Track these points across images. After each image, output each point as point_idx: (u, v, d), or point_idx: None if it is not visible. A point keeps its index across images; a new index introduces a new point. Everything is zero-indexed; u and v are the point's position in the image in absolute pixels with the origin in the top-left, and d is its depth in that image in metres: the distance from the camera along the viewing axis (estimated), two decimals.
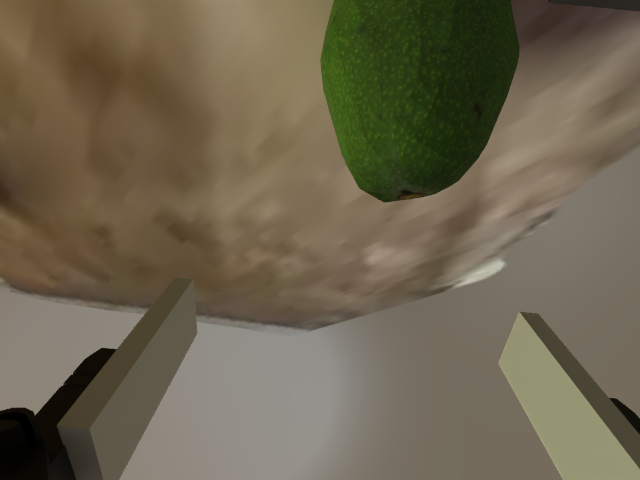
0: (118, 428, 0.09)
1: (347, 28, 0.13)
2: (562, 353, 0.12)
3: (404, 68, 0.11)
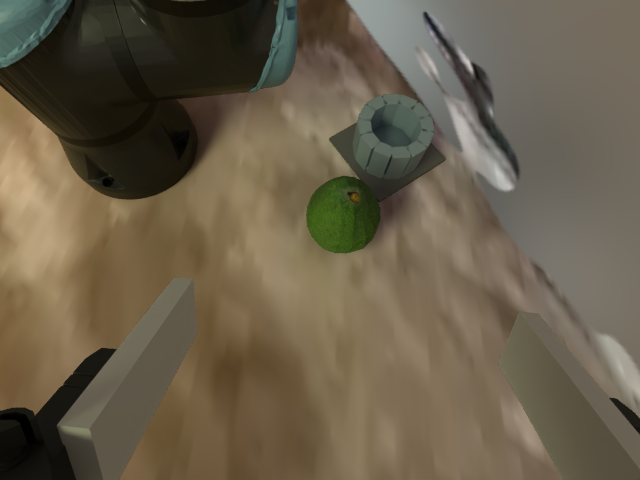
0: (118, 428, 0.09)
1: (309, 210, 0.37)
2: (562, 353, 0.12)
3: (323, 186, 0.35)
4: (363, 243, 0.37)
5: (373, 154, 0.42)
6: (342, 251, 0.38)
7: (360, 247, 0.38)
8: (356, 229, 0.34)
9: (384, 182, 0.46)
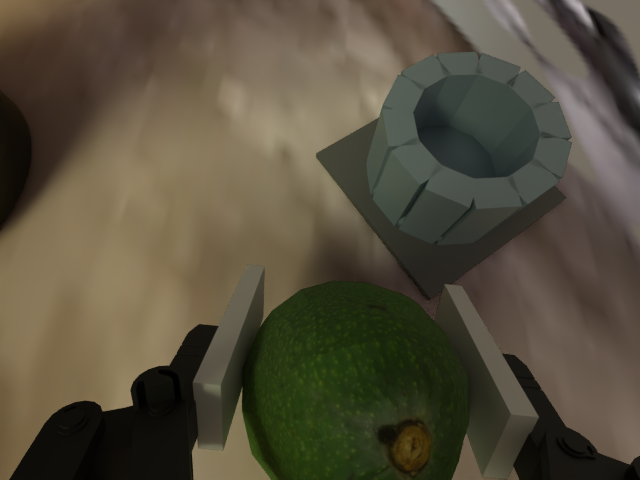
0: (230, 390, 0.11)
1: (245, 389, 0.12)
2: (471, 317, 0.13)
3: (282, 338, 0.10)
4: None
5: (423, 197, 0.17)
6: None
7: None
8: None
9: (438, 252, 0.20)
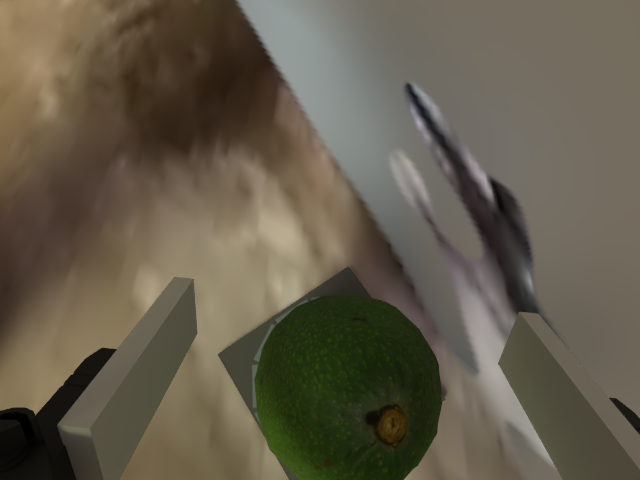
0: (118, 428, 0.09)
1: (259, 396, 0.14)
2: (562, 353, 0.12)
3: (285, 352, 0.12)
4: None
5: None
6: None
7: None
8: None
9: None
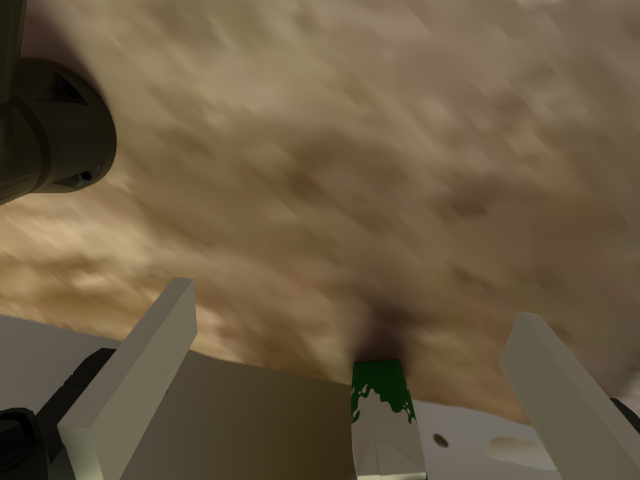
0: (118, 428, 0.09)
1: None
2: (562, 353, 0.12)
3: None
4: None
5: None
6: None
7: None
8: None
9: None
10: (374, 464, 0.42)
